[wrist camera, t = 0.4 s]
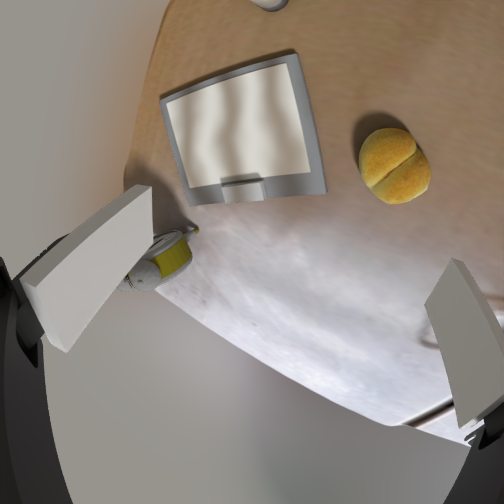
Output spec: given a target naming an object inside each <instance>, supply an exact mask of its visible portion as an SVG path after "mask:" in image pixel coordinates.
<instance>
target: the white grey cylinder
mask: <svg viewBox="0 0 504 504" xmlns="http://www.w3.org/2000/svg"><path fill="white" fill-rule="evenodd" d="M249 1H251V2H253V3H254V4H256V5H257V6H259V7H260V8H262V9H263V10H265V11H270V12H274V11H278V10H281V9H282V8H284V7H285V6H286V5H287V3H288V0H249Z"/></svg>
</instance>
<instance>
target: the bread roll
mask: <svg viewBox="0 0 504 504" xmlns="http://www.w3.org/2000/svg"><path fill="white" fill-rule="evenodd" d="M359 169H360V174H361V176H362V179H363V181H364V182H365V184H366V185H367V186H368V187H369V188H370V190H371V191H372V192H373V193H374V194H375V195H376V196H377V197H378V198H379V199H381V200H382V201H384V202H386V203H389V204H399V203H403V202H408V201H411V200H412V199H413V198H415V197H417V196H418V195H420V194H422V193H423V192H425V191H426V190H427V189H428V183H429V181H430V177H431V170H430V166H429V162H428V160H427V158H426V157H425V155H424V154H423V153H422V152H421V151H420V150H419V149H418V148H417V146H416V143H415V140H414V138H413V137H412V136H411V134H409V133H408V132H406V131H404V130H401V129H397V128H384V129H379V130H376V131H374V132H373V133H371V134H370V135H369V136H368V137H367V138H366V140H365V141H364V143H363V145H362V147H361V150H360V153H359Z"/></svg>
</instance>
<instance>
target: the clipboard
mask: <svg viewBox="0 0 504 504" xmlns="http://www.w3.org/2000/svg"><path fill="white" fill-rule="evenodd" d="M159 104H160V108H161V112H162V115H163V119H164V123H165V126H166V130H167V133H168V137H169V141H170V144H171V148H172V151H173V155H174V158H175V161H176V165H177V168H178V171H179V175H180V178H181V181H182V185H183V188H184V191H185V194H186V198H187V201H188V204H189V206H196V205H204V204H213V203H222V202H225V203H226V204H228V203H238V202H249V201H260V200H265V199H266V198H275V197H288V196H301V195H317V194H326V193H327V192H328V191H327V184H326V178H325V172H324V166H323V160H322V155H321V149H320V144H319V139H318V134H317V129H316V124H315V119H314V115H313V110H312V106H311V101H310V97H309V93H308V89H307V85H306V81H305V77H304V73H303V69H302V65H301V62H300V58H299V55H298V54H291V55H287V56H283V57H279V58H275V59H271V60H267V61H263V62H260V63H256V64H253V65H250V66H246V67H243V68H240V69H237V70H234V71H231V72H228V73H225V74H222V75H219V76H217V77H214V78H211V79H209V80H206V81H203V82H201V83H198V84H196V85H193V86H191V87H189V88H186V89H184V90H182V91H179V92H177V93H175V94H173V95H170V96H168V97H166V98H164V99H162V100H160V101H159Z"/></svg>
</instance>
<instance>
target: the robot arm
mask: <svg viewBox="0 0 504 504" xmlns="http://www.w3.org/2000/svg"><path fill="white" fill-rule="evenodd" d="M152 244H153V222H152V187H151V186H145V185H138V184H136V185H135V186H133V187H132V188H130V189H129V190H127V191H126V192H124V193H123V194H121V195H120V196H119V197H117V198H116V199H114V200H113V201H112V202H110V203H109V204H107V205H106V206H105V207H103V208H102V209H101V210H99V211H98V212H97V213H95V214H94V215H93V216H91V217H90V218H89V219H87V220H86V221H85V222H84V223H82V224H81V225H80V226H78V227H77V228H76V229H75V230H73V231H72V232H71V233H69V234H67V235H65V236H63V237H61V238H59V239H57V240H56V241H55V242H53V243H52V244H51V245H50V246H49V247H48V248H47V250H44V251H43V252H42V253H41V254H40V256H37V257H36V258H35V259H34V260H33V261H32V262H31V263H30V264H28V265H27V266H26V267H25V268H24V269H23V270H22V271H21V272H20V273H19V274H18V275H17V276H16V277H15V278H14V279H13V280H12V281H11V278H10V276H9V274H8V271H7V268H6V266H5V263H4V261H3V259H2V257H0V504H73V503H72V500H71V498H70V495H69V492H68V489H67V486H66V483H65V480H64V476H63V473H62V470H61V466H60V463H59V459H58V455H57V451H56V447H55V443H54V438H53V433H52V428H51V422H50V416H49V410H48V403H47V395H46V386H45V375H44V361H43V344H42V341H41V339H40V338H41V336H42V335H43V334H44V333H45V334H46V336H47V338H48V339H49V341H50V343H51V344H52V345H54V346H55V347H58V348H59V349H61V350H63V351H64V352H66V353H68V351H69V350H70V348H71V347H72V346H73V344H74V343H75V341H76V340H77V339H78V337H79V336H80V334H81V333H82V332H83V330H84V329H85V327H86V326H87V325H88V323H89V322H90V321H91V319H92V318H93V317H94V315H95V314H96V313H97V311H98V310H99V309H100V307H101V306H102V305H103V303H104V302H105V301H106V299H107V298H108V297H109V296H110V294H111V293H112V292H113V291H114V289H115V288H116V287H117V286H118V284H119V283H120V282H121V281H122V280H123V278H124V277H125V276H126V275H127V273H128V272H129V271H130V270H131V269H132V267H133V266H134V265H135V264H136V263H137V261H138V260H139V259H140V258H141V257H142V256H143V254H144V253H145V252H146V251H147V250H148V249H149V247H150V246H151V245H152ZM424 305H425V308H426V310H427V313H428V316H429V319H430V321H431V324H432V327H433V330H434V333H435V336H436V339H437V342H438V345H439V348H440V351H441V355H442V358H443V362H444V365H445V369H446V372H447V376H448V380H449V384H450V388H451V392H452V396H453V401H454V405H455V410H456V415H457V421H458V426H459V429H462V428H468V427H472V426H474V425H475V424H476V423H478V422H479V421H481V420H482V419H483V418H484V423H485V424H483V425H482V426H481V427H479V428H478V429H476V430H475V431H473V432H472V433H471V434H469V435H467V436H466V438H465V439H464V440H465V441H467V440H468V439H470V438H471V437H475V438H474V439H472V440H470V441H469V442H468V444H470V445H471V446H472V447H471V449H470V451H469V454H468V456H467V458H466V461H465V463H464V465H463V467H462V469H461V472H460V473H459V476H458V477H457V479H456V481H455V483H454V485H453V487H452V489H451V491H450V493H449V495H448V496H447V498H446V500H445V501H444V503H443V504H504V333H503V331H502V328H501V326H500V324H499V322H498V320H497V319H496V317H495V315H494V313H493V311H492V309H491V307H490V305H489V304H488V302H487V300H486V298H485V297H484V295H483V293H482V291H481V290H480V288H479V286H478V285H477V283H476V281H475V280H474V278H473V277H472V275H471V273H470V272H469V270H468V269H467V267H466V266H465V264H464V263H463V262H462V261H459V260H456V259H453V258H451V260H450V262H449V264H448V265H447V267H446V269H445V271H444V273H443V274H442V276H441V278H440V279H439V281H438V283H437V285H436V286H435V288H434V290H433V291H432V293H431V294H430V296H429V298H428V299H427V301H426V302H425V304H424Z"/></svg>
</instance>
